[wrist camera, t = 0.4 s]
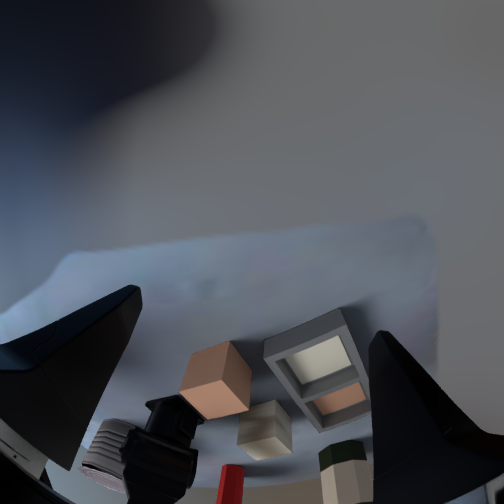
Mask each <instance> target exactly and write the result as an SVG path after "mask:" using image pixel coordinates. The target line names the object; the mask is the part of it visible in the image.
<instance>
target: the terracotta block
mask: <svg viewBox="0 0 504 504" xmlns="http://www.w3.org/2000/svg"><path fill="white" fill-rule="evenodd" d="M251 381H252V370H251V368H250V367H249V366H248V365H247V363H246V362H245V361H244V359H243V358H242V357H241V355H240V354H239V353H238V351H237V350H236V349H235V347H234V346H233V345H232V343H231V342H230V341H227V342H225V343H222V344H219V345H217V346H214V347H211V348H208V349H206V350H203V351H200V352H197V353H194V354H192V356H191V359H190V361H189V364H188V367H187V370H186V373H185V375H184V378H183V381H182V384H181V386H180V389H179V392H180V393H181V394H182V395H183V396H184V397H185V398H186V399H187V400H188V401H189V402H190V403H191V404H192V405H193V406H194V407H195V408H196V409H197V410H198V411H199V412H200V413H201V414H202V415H203V416H204V417H205V418H206V419H207V420H208V419H213V418H218V417H223V416H227V415H231V414H236V413H240V412H244V411H248V410H249V405H250V393H251Z"/></svg>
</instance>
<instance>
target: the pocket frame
mask: <svg viewBox="0 0 504 504" xmlns="http://www.w3.org/2000/svg"><path fill="white" fill-rule="evenodd" d="M263 359H264V360H265V362H266V363H267V364H268V366H269V367H270V369H271V370H272V371H273V373H274V374H275V376H276V377H277V378H278V380H279V381H280V382H281V384H282V385H283V386H284V388H285V389H286V390H287V392H288V393H289V394H290V396H291V397H292V398H293V400H294V401H295V402H296V404H297V405H298V406H299V408H300V409H301V410H302V412H303V413H304V414H305V415H306V417H307V418H308V419H309V421H310V422H311V423H312V424H313V426H314V427H315V428H316V430H317V431H318V432H319V433H321V432H324V431H327V430H330V429H333V428H336V427H339V426H341V425H344V424H347V423H350V422H352V421H355V420H357V419H360V418H362V417H365V416H367V415H369V414H371V402H370V392H369V379H368V376H367V373H366V371H365V368H364V366H363V363H362V361H361V358H360V356H359V353H358V351H357V348H356V346H355V343H354V341H353V339H352V336H351V334H350V331H349V329H348V327H347V324H346V322H345V320H344V317H343V315H342V313H341V310H340V308H337V309H335V310H333V311H331V312H329V313H326V314H324V315H322V316H320V317H318V318H315V319H313V320H311V321H309V322H306V323H304V324H302V325H300V326H297V327H295V328H293V329H290V330H288V331H285V332H283V333H281V334H278V335H276V336H273V337H271V338H268V339H266V340H264V358H263Z"/></svg>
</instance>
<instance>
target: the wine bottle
mask: <svg viewBox="0 0 504 504" xmlns="http://www.w3.org/2000/svg"><path fill="white" fill-rule="evenodd" d="M319 462H320V471H321V481H322V490H323V502H324V504H373V485H372V480H371V476H370V471H369V467H368V462H367V458H366V454H365V450H364V446H363V442H361V441H353V440H347V441H343V442H339V443H336V444H332V445H329V446H328V447H326V448H325V449H324V450H322V451H321V452H319Z"/></svg>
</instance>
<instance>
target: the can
mask: <svg viewBox="0 0 504 504" xmlns="http://www.w3.org/2000/svg"><path fill="white" fill-rule="evenodd" d="M130 429H135V426H133V425H132V424H129V423H126V422H123V421H120V420H117V419H107V420H103V422H102V424H101V426H100V428H99V430H98V432H97V434H96V436H95V437H94V439H93V441H92V443H91V445H90V447H89V449H88V451H87V453H86V455H85V457H84V459H83V461H82V466H83V467H80V468H78V469H79V470H80V471H81V472H82V473H83V474H84V475H85V476H87V477H88V478H89V479H91V480H93V481H95V482H97V483H99V484H101V485H103V486H105V487H107V488H109V489H112V490H115V491H119V492H123V493H126V492H125V488H124V485H123V481H122V475H123V470H124V467H125V466H124V465H122V464H120V463H121V459H120V458H121V455H120V453H119V449H120V447H121V445H122V444H123V442H124V440H125V438H126V436H127V434H128V432H129V430H130Z"/></svg>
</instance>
